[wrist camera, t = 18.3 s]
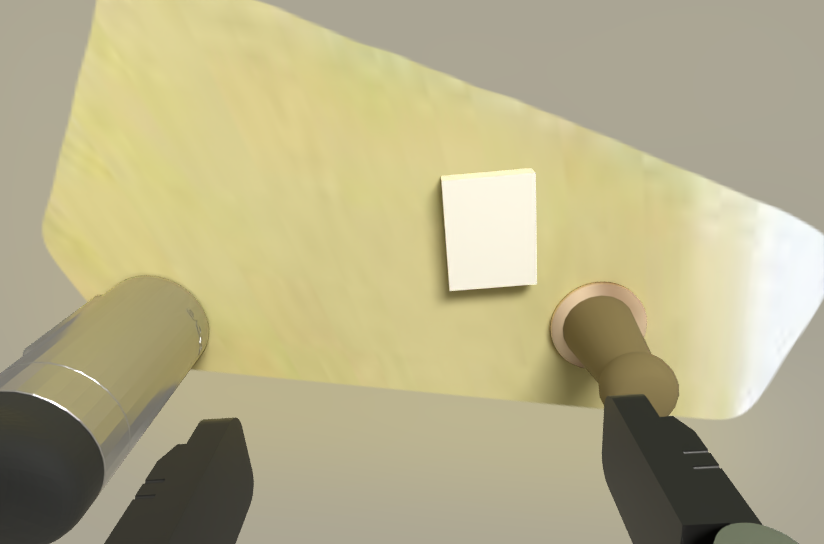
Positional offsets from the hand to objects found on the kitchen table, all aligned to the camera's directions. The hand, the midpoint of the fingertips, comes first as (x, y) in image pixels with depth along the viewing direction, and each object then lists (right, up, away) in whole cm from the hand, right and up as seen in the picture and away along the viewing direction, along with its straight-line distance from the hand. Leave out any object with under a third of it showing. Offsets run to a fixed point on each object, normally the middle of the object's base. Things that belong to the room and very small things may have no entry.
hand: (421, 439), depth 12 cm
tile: (+6, +3, +34) cm, 34 cm away
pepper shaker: (+16, -1, +35) cm, 39 cm away
